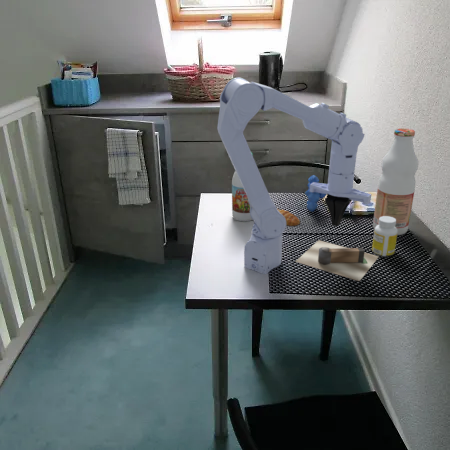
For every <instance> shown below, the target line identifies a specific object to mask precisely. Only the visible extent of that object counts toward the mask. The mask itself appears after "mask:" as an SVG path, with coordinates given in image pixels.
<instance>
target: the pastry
mask: <svg viewBox="0 0 450 450" xmlns="http://www.w3.org/2000/svg"><path fill="white" fill-rule="evenodd" d="M277 210H278V211H279V212H280V213H281V214H282V215H283V216H284V217H285V219H286V226H290V227H293V226H296V227H297V226H298V225H300V224H301V220H300V218H298V217H297V216H296V215H294V213H291V212H290V211H288V210H285V209H280V208H277Z"/></svg>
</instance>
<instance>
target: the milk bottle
mask: <svg viewBox="0 0 450 450" xmlns="http://www.w3.org/2000/svg"><path fill="white" fill-rule="evenodd" d="M251 153H252V156H253V157H254V153H253V152H252V151H251ZM231 211H232V214H231V215H232V218H233V219H234V220H235V221H238V222H251V221H254V220H253V219H252V218H251V216H250V204H249V202H248V197H247V195H246V193H245V191H244V188H243V186H242V184H241V182H240V180H239V177H238V175H237V173H236V171H235V170H234V173H233V176H232V180H231Z"/></svg>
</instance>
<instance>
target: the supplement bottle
mask: <svg viewBox="0 0 450 450" xmlns="http://www.w3.org/2000/svg"><path fill="white" fill-rule="evenodd" d="M378 224H379V225H377V226H376V227H375V229H374V231H373V238H372V239H373V240H372V245H371V251H372V253H374V255H376V256H379V257H392V256H393V255H395V251H396V245H397V240H398V239H397V237H398V235H397V232H398V231H397V228H396V227H395V225H396V219H395V218H393V217H390V216H382V217H380V218H379V221H378Z"/></svg>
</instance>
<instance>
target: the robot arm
mask: <svg viewBox="0 0 450 450" xmlns="http://www.w3.org/2000/svg"><path fill="white" fill-rule="evenodd" d="M329 107H330V105H328V104H326V103H324V102H321V103H318V102H317V103H313V104H311V105H306V104H305V103H302V102H301V101H298V100H297V99H295V98H292V97H291V96H289V95H287V94H285V93H283V92H282V91H279V90H277V89H275V88H273V87H271V86H267V85H265V84H261V83H258V82H255V81H248V80H247V79H245V78H242V77H234V78H231V79H230V80H229V81H228V82H227V83H226V84H225V86H224V88H223V90H222V92H221V94H220V96H219V112H218V118H217V127H216V128H217V132H218V136H219V137H220V139H221V142H222V144H223V146H224V148H225V150H226V153H227V154H228V155H227V156H228V158H229V159H230V162H231V164H232V166H233V168H234V172H235V171H236V173H237V175H238V177H239V180H240V182H241V184H242V186H243V188H244V191H245V193H246V195H247V197H248V202H249V204H250V216H251V218H252V219H253V220H252V221H253V222H254V223H253V225H252V228H251V235H250V238H249V240H247V242H246V243H245V245H244V248H243V250H244V251H243V252H244V253H243V254H244V260H243V261H244V262H243V263H244V268H245V269H249V270H252V271H254V272H256V273H257V272H258V273H260V274H263V275H267V274H268V273H269V272H270V271H271V270H273V269H274V268H277V267H279V266H280V265H281V264H282V258H283V257H282V254H283V253H282V252H283V233H284V232H285V230H286V227H287V225H286V219H285V217H284V216H283V215H282V214H281V213H280V212H279V211H278V210H277V209H278V208H277V207H276V205H275V202H273V200H272V198H271V195H270V193H269V191H268V188H267V187H266V184H265V182H264V180H263V177H262V175H261V173H260V170H259V168H258V166H257V163H256V161H255V158H254V155H253V156H252V153H253V152H252V151H251V149H250V147H249V143H248V141H247V139H246V138H245V135H244V131H245V130H246V127H247V126H248V123H249V122H251V120H252V119H253V118H254V117H255V115H257V114H258V112H259V111H260V110H262V111H264V112H266V111H269V110H271V109H276V110H278V111H281V112H283V113H285V114H288V115H290V116H292V117H294V118H297V119H300V120H301V121H302V125H303V127H304V128H305V129H306V130H308V131H311V132H312V133H315V134H316V135H319V136H322V137H323V138H326V139H328V140H331V147H330V148H331V149H330V154H329V155H330V156H329V157H330V158H329V167H328V178H327V183H322V182H321V183H320V182H318V183H315V182H313V183H312V184H310V191H309V192H318V193H322V194H327V195H326V197H324V204H326V207H327V209H328V212H329V216H330V221H331V225H332V227H333V226H334V227H339V226H340V225H341V222H342V220H343V217H344V214H345V212H346V210H347V209H348V207H349V205H350V204H351V202H352V201H355V202H359V203H363V205H368V204H370V203H371V201H372V194H371V193H368V192H365V191H362V190H360V189H357V188H354V180H355V172H356V171H355V170H356V162H357V154H358V149H359V146H360V144H361V143H362V142H363V141H364V138H365V133H364V132H363V127H362V126H361V124H360V123H359V122H357V121H355V120H353V119H351V118H349V117H347V114H345V113H343V112H339V113H338V112H337V111H334V110H332V109H330V108H329ZM251 152H252V153H251Z"/></svg>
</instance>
